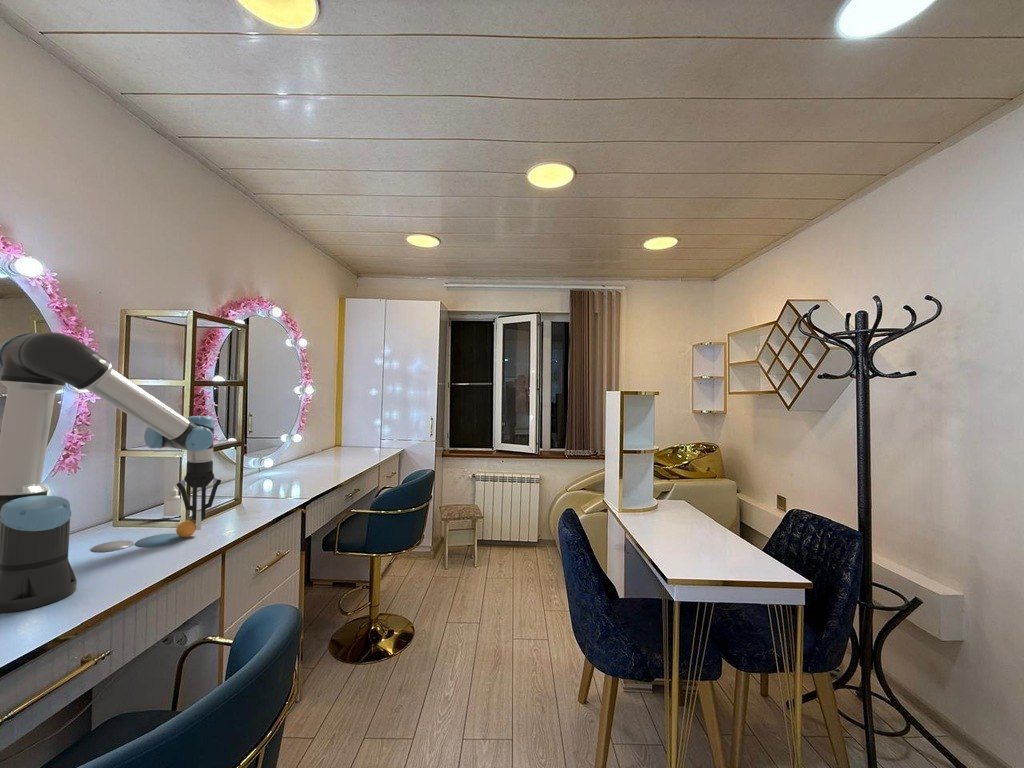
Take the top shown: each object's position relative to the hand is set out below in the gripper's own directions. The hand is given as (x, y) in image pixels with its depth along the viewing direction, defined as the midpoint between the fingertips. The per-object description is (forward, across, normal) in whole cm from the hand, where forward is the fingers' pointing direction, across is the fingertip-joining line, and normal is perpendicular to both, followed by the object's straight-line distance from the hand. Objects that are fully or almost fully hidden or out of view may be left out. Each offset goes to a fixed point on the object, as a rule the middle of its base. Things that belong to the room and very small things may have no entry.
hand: (198, 528), depth 155 cm
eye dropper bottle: (+3, +8, -29) cm, 30 cm away
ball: (0, +3, 0) cm, 3 cm away
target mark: (+2, +10, 0) cm, 10 cm away
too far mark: (+2, +22, 0) cm, 22 cm away
